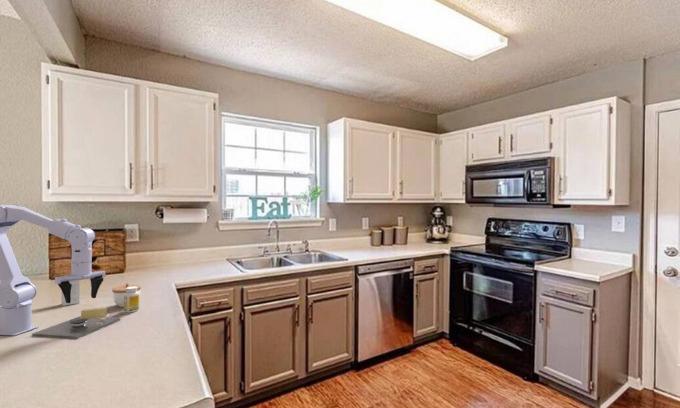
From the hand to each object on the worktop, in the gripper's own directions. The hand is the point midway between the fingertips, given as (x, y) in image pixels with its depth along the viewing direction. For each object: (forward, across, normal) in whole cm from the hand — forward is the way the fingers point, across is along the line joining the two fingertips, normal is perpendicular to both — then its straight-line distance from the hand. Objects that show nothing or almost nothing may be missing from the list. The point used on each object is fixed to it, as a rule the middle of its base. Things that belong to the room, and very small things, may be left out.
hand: (81, 300), depth 120 cm
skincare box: (+10, +10, +38) cm, 41 cm away
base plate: (+10, 0, 0) cm, 10 cm away
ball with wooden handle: (+8, +2, -1) cm, 8 cm away
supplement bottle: (+10, +20, +5) cm, 22 cm away
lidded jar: (+10, +22, +15) cm, 29 cm away
